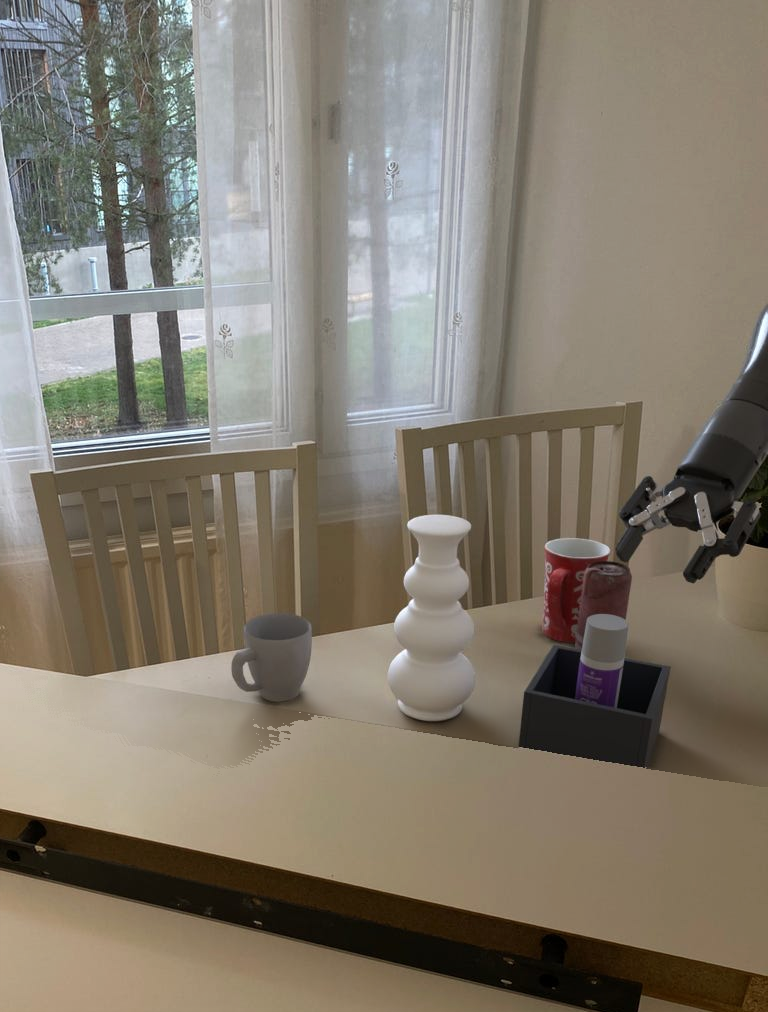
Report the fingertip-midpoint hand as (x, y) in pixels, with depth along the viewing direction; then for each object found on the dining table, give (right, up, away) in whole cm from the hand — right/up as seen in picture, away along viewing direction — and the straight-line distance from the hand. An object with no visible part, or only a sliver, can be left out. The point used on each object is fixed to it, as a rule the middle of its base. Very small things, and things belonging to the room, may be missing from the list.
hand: (653, 568), depth 103 cm
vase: (-23, -17, +14) cm, 32 cm away
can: (+2, -11, +25) cm, 28 cm away
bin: (-5, -21, +5) cm, 22 cm away
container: (-5, -20, +5) cm, 21 cm away
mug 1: (-43, -16, +18) cm, 50 cm away
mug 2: (0, -8, +33) cm, 34 cm away
